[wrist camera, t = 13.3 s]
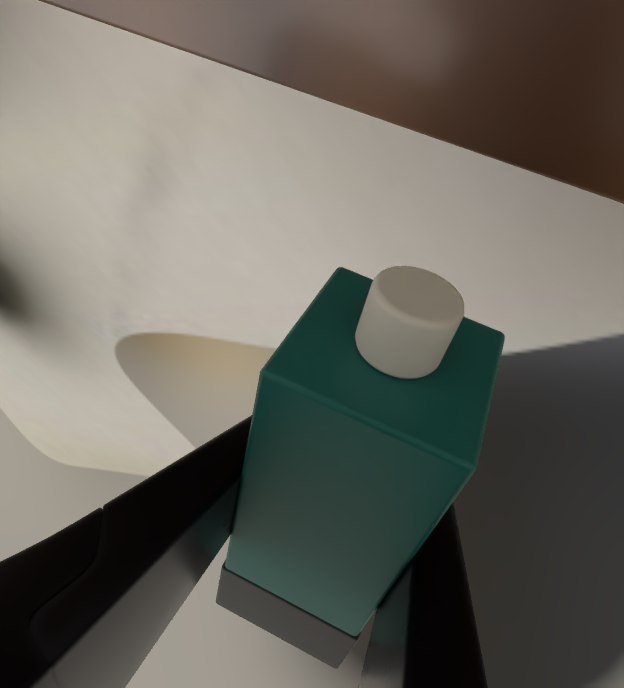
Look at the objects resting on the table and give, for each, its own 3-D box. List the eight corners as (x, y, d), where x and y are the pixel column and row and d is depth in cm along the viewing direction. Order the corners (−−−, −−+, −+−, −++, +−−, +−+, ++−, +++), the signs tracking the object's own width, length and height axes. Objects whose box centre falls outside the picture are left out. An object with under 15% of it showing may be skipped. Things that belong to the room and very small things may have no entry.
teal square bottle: (350, 206, 8) (265, 306, 6) (542, 280, 7) (522, 418, 5) (271, 501, 13) (214, 603, 11) (376, 553, 13) (336, 670, 11)
